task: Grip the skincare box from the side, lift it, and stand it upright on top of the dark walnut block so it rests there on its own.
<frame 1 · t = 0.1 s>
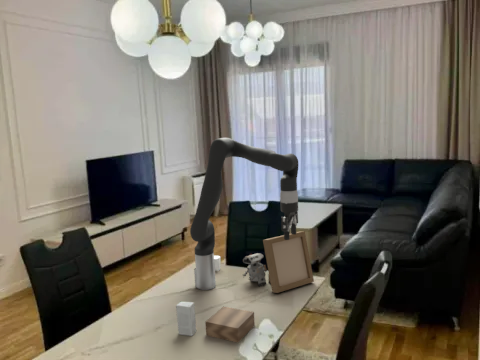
hand: (290, 236, 191), 29 cm above the table, tool pointing down, fingers open, 8 cm apart
walnut block: (230, 331, 172), on the table
skincare box: (187, 333, 171), on the table
photo frame: (286, 284, 214), on the table
figurine: (254, 284, 216), on the table
white round piece: (215, 269, 239), on the table
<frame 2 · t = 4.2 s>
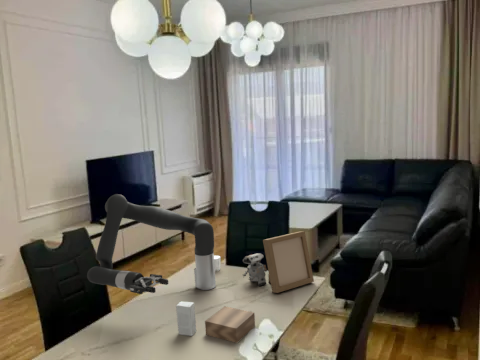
hand: (161, 286, 174), 18 cm above the table, tool horizontal, fingers open, 8 cm apart
nothing on the table moved.
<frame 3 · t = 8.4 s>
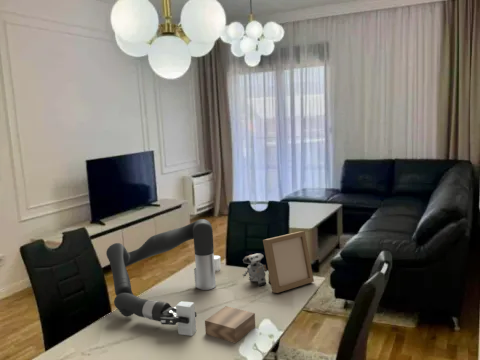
hand: (192, 317, 169), 7 cm above the table, tool horizontal, fingers closed on skincare box, 4 cm apart
skincare box: (187, 333, 172), on the table, touching gripper
everything else where it was.
when the fingers open (14 cm above the table, at t = 13.7 s): skincare box drops 2 cm, resting on walnut block.
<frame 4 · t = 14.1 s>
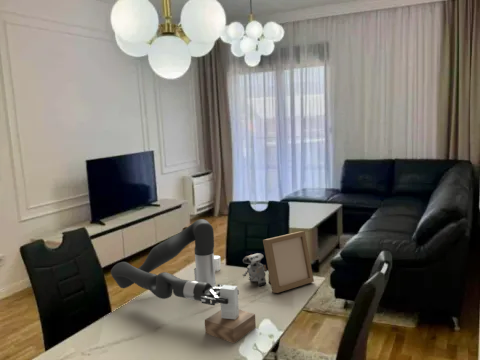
hand: (233, 296, 169), 14 cm above the table, tool horizontal, fingers open, 8 cm apart
walnut block: (230, 331, 172), on the table, touching skincare box
skincare box: (230, 317, 171), point 5 cm above the table, touching walnut block
everything else where it was.
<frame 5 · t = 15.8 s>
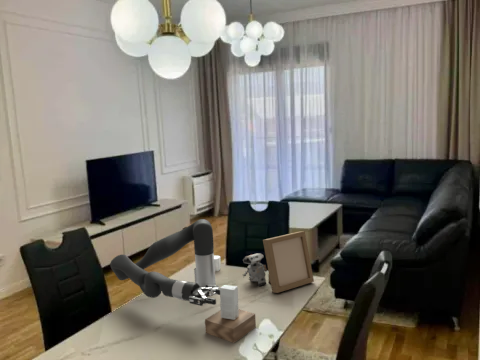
hand: (220, 297, 171), 13 cm above the table, tool horizontal, fingers open, 8 cm apart
walnut block: (231, 331, 172), on the table
skincare box: (229, 317, 170), point 5 cm above the table
everything else where it was.
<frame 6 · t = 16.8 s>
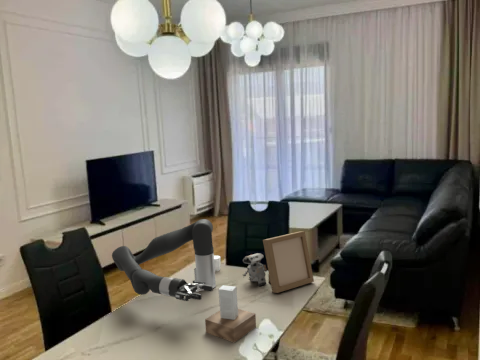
hand: (206, 292, 174), 14 cm above the table, tool horizontal, fingers open, 8 cm apart
nothing on the table moved.
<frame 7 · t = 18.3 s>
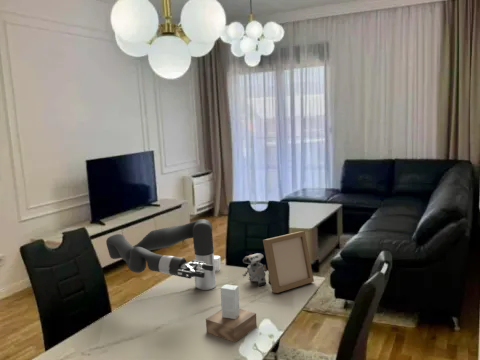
hand: (208, 271, 174), 22 cm above the table, tool horizontal, fingers open, 8 cm apart
walnut block: (231, 330, 172), on the table, touching skincare box
skincare box: (230, 316, 171), point 5 cm above the table, touching walnut block
everything else where it was.
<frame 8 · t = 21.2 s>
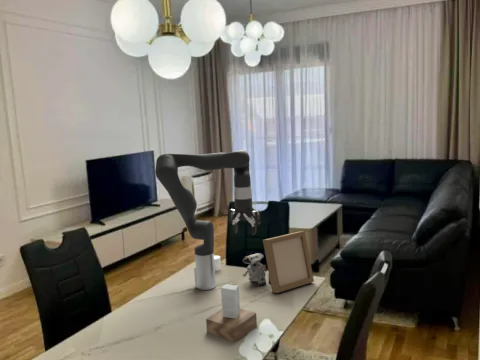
hand: (244, 233, 189), 32 cm above the table, tool pointing down, fingers open, 8 cm apart
nothing on the table moved.
at the end: skincare box inside the target area on the walnut block (0.1 cm from its centre), point 5.9 cm above the walnut block's base; skincare box tilted 1°; the gripper is holding nothing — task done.
